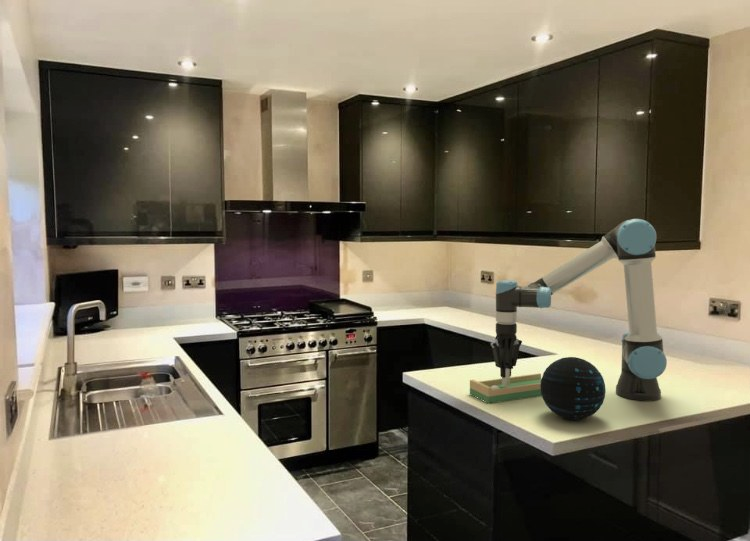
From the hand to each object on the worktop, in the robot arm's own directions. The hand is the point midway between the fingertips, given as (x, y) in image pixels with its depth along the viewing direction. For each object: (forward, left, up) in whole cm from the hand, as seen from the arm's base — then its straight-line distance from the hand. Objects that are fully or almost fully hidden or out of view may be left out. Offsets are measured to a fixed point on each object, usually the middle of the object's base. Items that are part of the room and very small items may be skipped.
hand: (505, 385), depth 210 cm
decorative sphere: (-30, -4, -4) cm, 30 cm away
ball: (0, +5, -1) cm, 5 cm away
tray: (0, -4, -4) cm, 6 cm away
